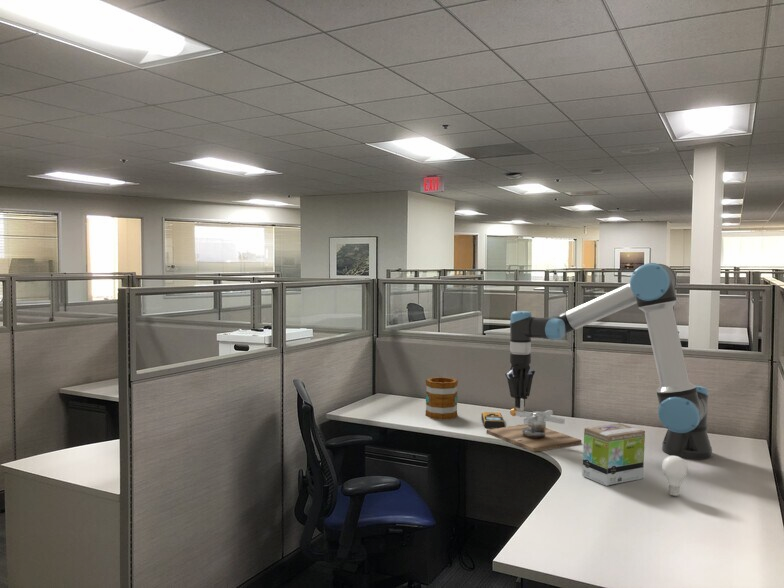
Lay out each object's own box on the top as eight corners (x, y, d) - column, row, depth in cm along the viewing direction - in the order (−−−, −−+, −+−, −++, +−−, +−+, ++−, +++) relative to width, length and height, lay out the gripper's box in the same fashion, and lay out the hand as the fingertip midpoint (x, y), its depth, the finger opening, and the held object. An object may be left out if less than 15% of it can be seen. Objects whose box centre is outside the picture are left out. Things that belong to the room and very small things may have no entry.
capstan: (574, 435, 217) (575, 412, 216) (550, 447, 202) (551, 422, 202) (522, 425, 231) (523, 403, 230) (497, 435, 216) (497, 412, 216)
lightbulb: (685, 502, 159) (686, 461, 158) (659, 497, 162) (660, 457, 162) (688, 494, 164) (689, 455, 164) (662, 490, 168) (664, 451, 167)
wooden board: (581, 443, 212) (581, 439, 212) (533, 451, 202) (533, 447, 202) (531, 426, 235) (531, 422, 235) (486, 433, 225) (486, 429, 225)
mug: (459, 419, 244) (459, 383, 244) (426, 419, 245) (426, 383, 244) (454, 408, 264) (455, 374, 263) (424, 408, 264) (424, 374, 264)
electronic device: (501, 420, 247) (501, 411, 247) (505, 429, 232) (505, 421, 231) (480, 419, 248) (480, 411, 248) (483, 428, 232) (483, 420, 232)
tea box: (607, 487, 169) (608, 435, 169) (581, 476, 178) (582, 427, 178) (644, 479, 176) (645, 429, 176) (617, 469, 185) (618, 421, 185)
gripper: (525, 350, 228) (525, 411, 229) (500, 353, 221) (499, 416, 222) (540, 352, 222) (539, 415, 223) (514, 355, 215) (514, 420, 216)
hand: (519, 415), depth 223 cm, fingers closed
